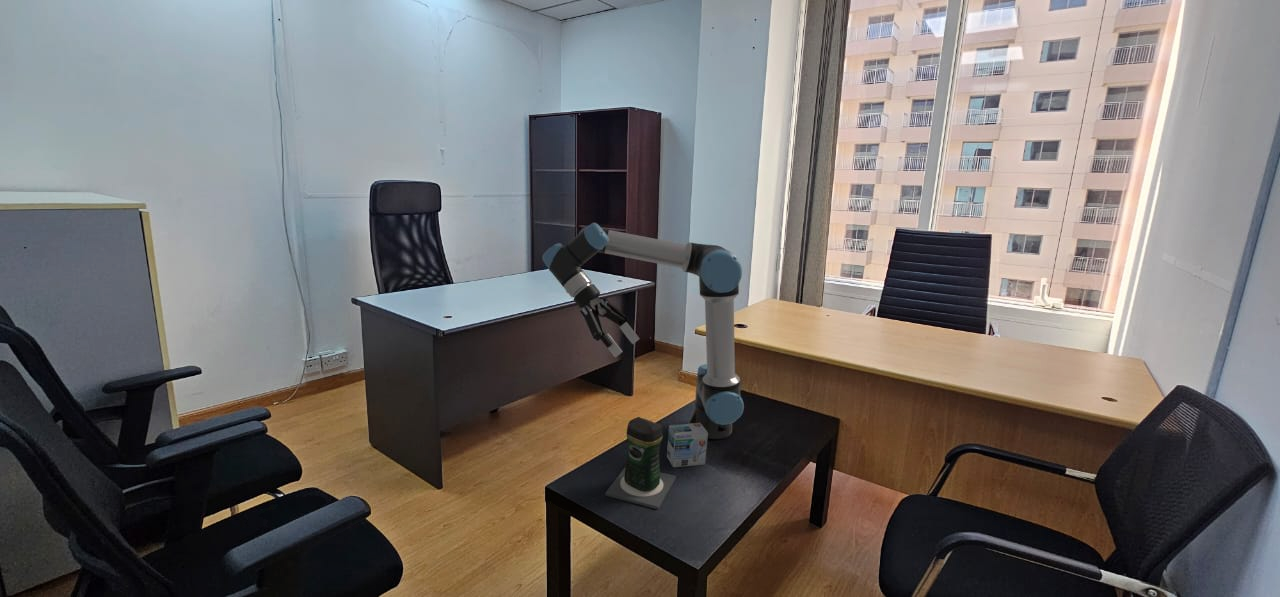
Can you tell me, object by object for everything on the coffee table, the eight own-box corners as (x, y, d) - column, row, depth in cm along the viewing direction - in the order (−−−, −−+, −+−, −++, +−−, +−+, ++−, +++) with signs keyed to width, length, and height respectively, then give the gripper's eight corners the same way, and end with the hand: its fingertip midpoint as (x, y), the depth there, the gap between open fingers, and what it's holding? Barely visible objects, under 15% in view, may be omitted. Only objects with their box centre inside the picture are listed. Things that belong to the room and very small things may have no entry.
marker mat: (627, 466, 157) (627, 463, 157) (675, 478, 152) (675, 475, 152) (605, 495, 143) (605, 492, 142) (658, 509, 138) (658, 506, 137)
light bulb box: (672, 468, 158) (675, 435, 155) (665, 456, 164) (668, 424, 162) (706, 464, 161) (709, 432, 158) (698, 453, 167) (700, 422, 165)
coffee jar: (664, 484, 147) (668, 422, 143) (646, 496, 141) (650, 432, 137) (637, 471, 153) (640, 411, 149) (619, 482, 147) (622, 420, 143)
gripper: (592, 291, 167) (634, 343, 166) (553, 307, 145) (601, 368, 143) (608, 276, 165) (651, 329, 163) (571, 290, 142) (620, 352, 140)
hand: (628, 347), depth 153 cm, fingers open, 13 cm apart
